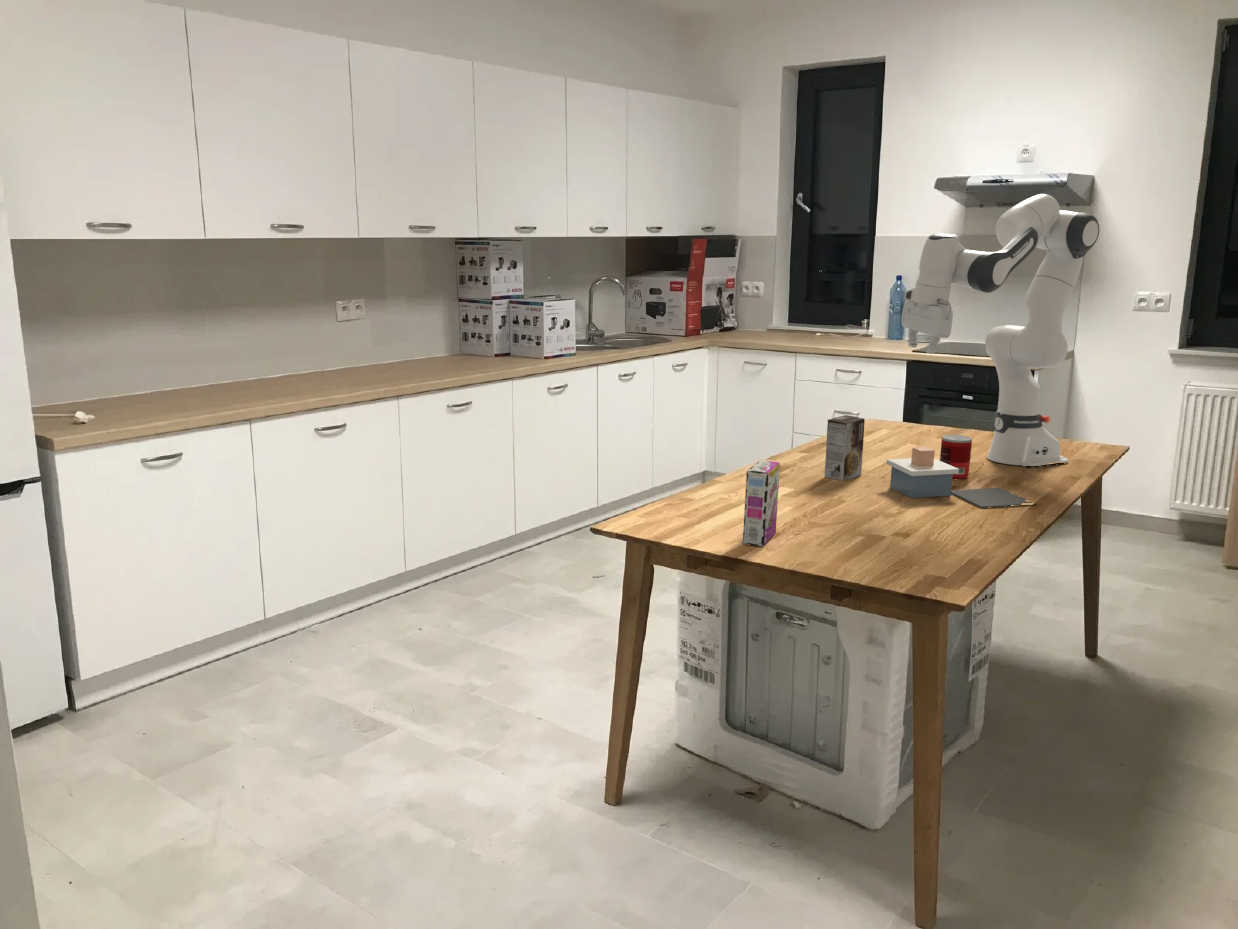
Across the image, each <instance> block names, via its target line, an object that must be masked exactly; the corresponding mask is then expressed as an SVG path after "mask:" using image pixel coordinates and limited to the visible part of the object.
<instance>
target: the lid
mask: <svg viewBox="0 0 1238 929" xmlns="http://www.w3.org/2000/svg"><path fill="white" fill-rule="evenodd" d="M911 448H912V450H911V457H909V458H890V459H889V458H888V459H887V458H886V465H888V466H890V467H891V468H892V467H894V468H896V469H898V470H900V471H902V472H904V473H906V474H909V475H911V476H923V475H942V474H959V469H958V468H956V467H953V466H951V465H949V464H946V463H944V462H942V461H940V459H936V458H935V453H936V452H935V449H932V448H930V447H928V446H918V447H916V446H915V447H911Z"/></svg>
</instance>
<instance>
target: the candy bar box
mask: <svg viewBox="0 0 1238 929" xmlns="http://www.w3.org/2000/svg"><path fill="white" fill-rule="evenodd" d="M780 469H781V463H780V462H777V461H769V460H759V461H757V462H756V463H755V464H754V465H752V466H751V467H749V469H747V470H746V480H745V496H744V514H743V529H742V530H743V532H742V533H743V534H742V545H745V544H750V545H749V546H751V545H757V546H756V547H758V546H762V547H761V548H764V547H765V546H764V545H767V544H768V543H769V541H770V540H771V539H772V538H773V537H774V535H775V534H776V531H777V518H778V517H777V515H778V514H777V513H778V502H779V501H778V500H779V499H778V498H779V488H780V471H781V470H780ZM770 538H771V539H770ZM769 539H770V540H769ZM763 546H764V547H763Z"/></svg>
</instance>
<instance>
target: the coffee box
mask: <svg viewBox="0 0 1238 929" xmlns="http://www.w3.org/2000/svg"><path fill="white" fill-rule="evenodd" d="M865 419H866V418H863V417H862V418H861V417H858V416H854V415H841V416H838V417H834V418H829V419H827V427H826V428H827V429H826V445H825V462H824V464H825V465H824V476H825V477H824V478H827V477H828V478H827V479H832V480H835V479H838V480H837V481H840V480H841V482H845V481H848V480H851V479H854V478H857V477H860V476H862V468H863V467H862V466H863V455H864V454H863V452H864V436H865V435H864V434H865Z"/></svg>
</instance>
